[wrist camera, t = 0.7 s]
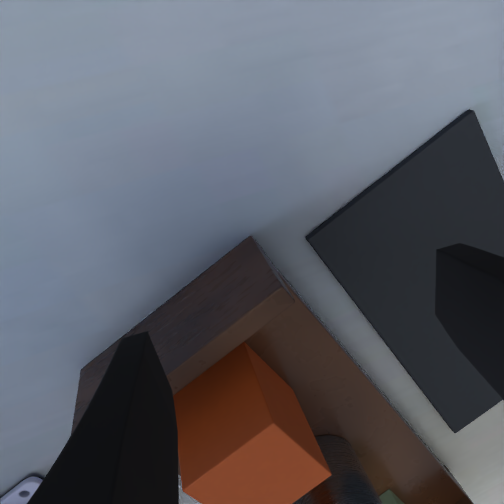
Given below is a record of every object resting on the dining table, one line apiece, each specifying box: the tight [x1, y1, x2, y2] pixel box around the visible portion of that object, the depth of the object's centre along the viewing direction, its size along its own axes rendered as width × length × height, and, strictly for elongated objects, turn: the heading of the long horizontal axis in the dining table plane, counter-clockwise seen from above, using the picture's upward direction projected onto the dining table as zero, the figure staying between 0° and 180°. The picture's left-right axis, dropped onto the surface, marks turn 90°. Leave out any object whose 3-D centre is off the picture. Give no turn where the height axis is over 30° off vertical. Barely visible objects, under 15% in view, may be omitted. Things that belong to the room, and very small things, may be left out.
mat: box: [306, 110, 504, 433], centre depth 27 cm, size 10×20×1 cm, turn 36°
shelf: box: [71, 236, 474, 504], centre depth 26 cm, size 11×26×5 cm, turn 36°
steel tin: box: [292, 435, 383, 504], centre depth 24 cm, size 5×5×4 cm
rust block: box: [173, 342, 332, 504], centre depth 20 cm, size 4×4×5 cm
